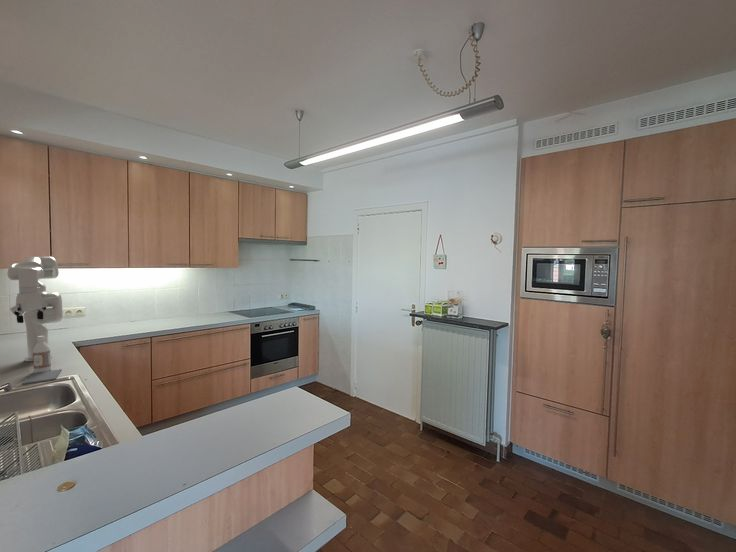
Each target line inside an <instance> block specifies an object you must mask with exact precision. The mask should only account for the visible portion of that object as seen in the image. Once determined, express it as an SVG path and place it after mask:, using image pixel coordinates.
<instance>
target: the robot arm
mask: <svg viewBox="0 0 736 552" xmlns="http://www.w3.org/2000/svg"><path fill="white" fill-rule="evenodd" d="M59 271H60V270H59V266H58V262H57V260H56V258H54V257H53V256H30V257H27V258H26V259H25V260H24V261H22V262H18V263H13V264H11V265H10V266H9V267H8V268H7V272H6V274H7V277H8V279H9V280H10V281H18V293H17V294H16V299H15V305H14V306H13V307H10V308H9V310H10V311H11V312H12V315H15V316H16V323H17V324H25V328H26V344H27V348H26V349H27V357H25V358H24V362H33V349H34V347H35V346H36V344H37V343H38V342H37V337H38V336H45V343H46V344H47V345H48V346H49V347H50V345H49V330H48V328H47V327H46V326H44V324H56V323H59V322H61V321H62V320H63V298H62V295H61V294H60V293H59V292H47V287H46V285H45V284H44V283H43V282H42V281H40V280H41V279H43V280H47V279H48V280H49V279H56V278H57V277H59ZM52 357H53V354H51V353H50V358H51V359H52Z"/></svg>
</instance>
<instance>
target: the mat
mask: <svg viewBox="0 0 736 552" xmlns="http://www.w3.org/2000/svg"><path fill="white" fill-rule="evenodd" d="M61 372H62V369H61V368H59V369H53V370H52V369H51V370H49V371H45V372H38V373H35V372H32V373H29V374H28V376H26V377H25V379H24V380H23V381H22V382H21V385H22V386H23V385H24V386H25V385H30V384H37V383H42V382H49V381H56V380H57V378H58V376H60V374H61Z"/></svg>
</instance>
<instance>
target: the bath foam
mask: <svg viewBox="0 0 736 552" xmlns="http://www.w3.org/2000/svg"><path fill="white" fill-rule="evenodd" d="M37 342H38V343H37V344H36V346H35V347H34V349H33V361H32V362H33V363H32V364H33V373H38V372H45V371H52V362H51V361H52V357H51V358H50V354H51V347H50V345H49V346H48V345H47V344H46V343H45V336H38V337H37Z"/></svg>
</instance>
